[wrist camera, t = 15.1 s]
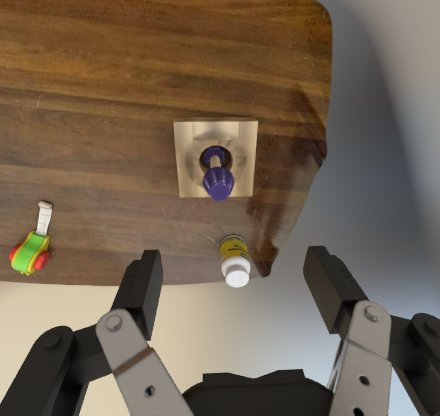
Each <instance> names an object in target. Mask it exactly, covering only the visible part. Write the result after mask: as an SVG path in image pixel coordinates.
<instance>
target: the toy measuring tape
mask: <svg viewBox="0 0 440 416" xmlns="http://www.w3.org/2000/svg"><path fill="white" fill-rule="evenodd" d="M38 206H39V207H40V212H39V220H38V226H37V231H34V230H32V231H31V232H30V233H29V235H28V237H27V238H26V240H25V241H24V242H23V243H19V244H17V245H16V246H15V247H14V248H13V249H12V251H11V252H10V255H9V259H10V260H11V261H12V263H11V266H12V267H13V268H14V269H15V270H19V271H21V272H20V273H22V274H23V273H25V274H26V275H30V274H31V273H33V272H34V271H35V270H36V269H42V268H43V267H44V266H45V265H46V263H47V261H48V259H49V257H50V253H49V252H47V248H48V244H49V240H50V236H49V235H46V233H47V228H48V225H49V222H50V219H51V213H52V208H51V207H52V204H49V203H46V202H44V201H40V202H39V205H38Z"/></svg>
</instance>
